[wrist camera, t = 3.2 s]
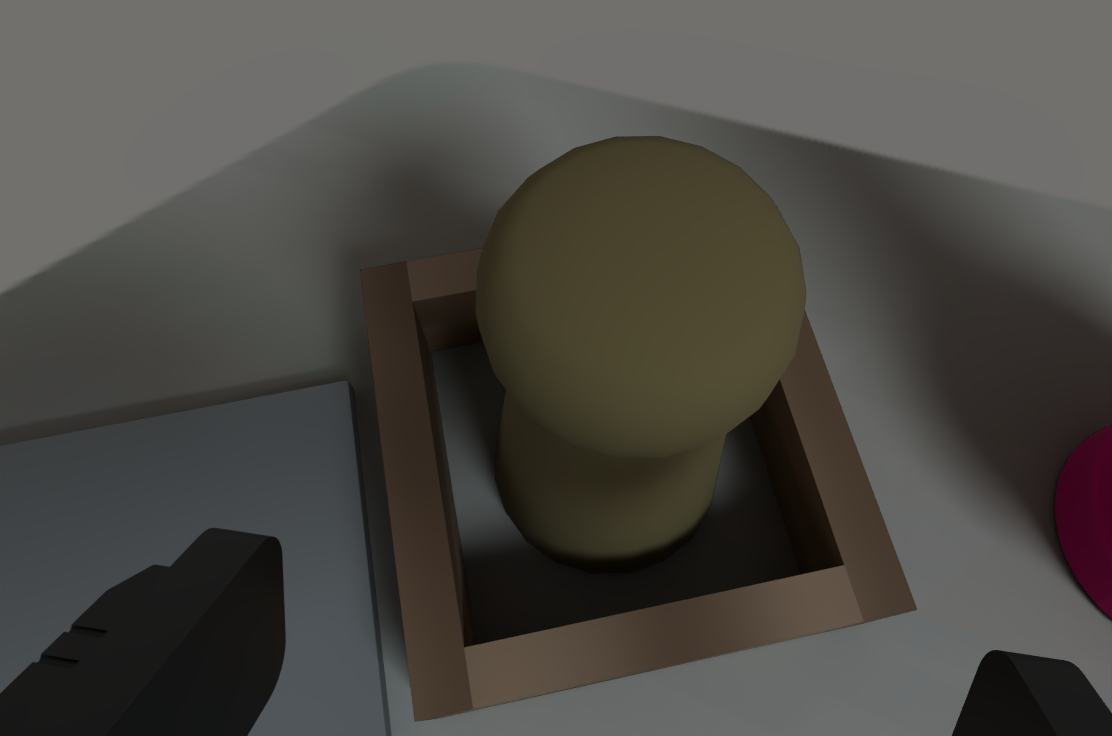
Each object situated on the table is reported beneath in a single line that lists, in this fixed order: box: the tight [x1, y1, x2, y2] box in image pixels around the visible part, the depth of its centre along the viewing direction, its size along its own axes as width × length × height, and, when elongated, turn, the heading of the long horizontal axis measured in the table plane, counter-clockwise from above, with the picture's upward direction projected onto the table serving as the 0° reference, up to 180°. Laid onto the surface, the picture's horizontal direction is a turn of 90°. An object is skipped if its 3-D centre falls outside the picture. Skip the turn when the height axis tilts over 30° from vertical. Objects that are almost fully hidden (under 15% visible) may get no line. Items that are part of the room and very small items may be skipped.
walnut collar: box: [360, 248, 917, 722], centre depth 20 cm, size 11×11×3 cm
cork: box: [475, 136, 806, 573], centre depth 16 cm, size 6×6×11 cm
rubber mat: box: [0, 380, 391, 736], centre depth 19 cm, size 11×11×1 cm
